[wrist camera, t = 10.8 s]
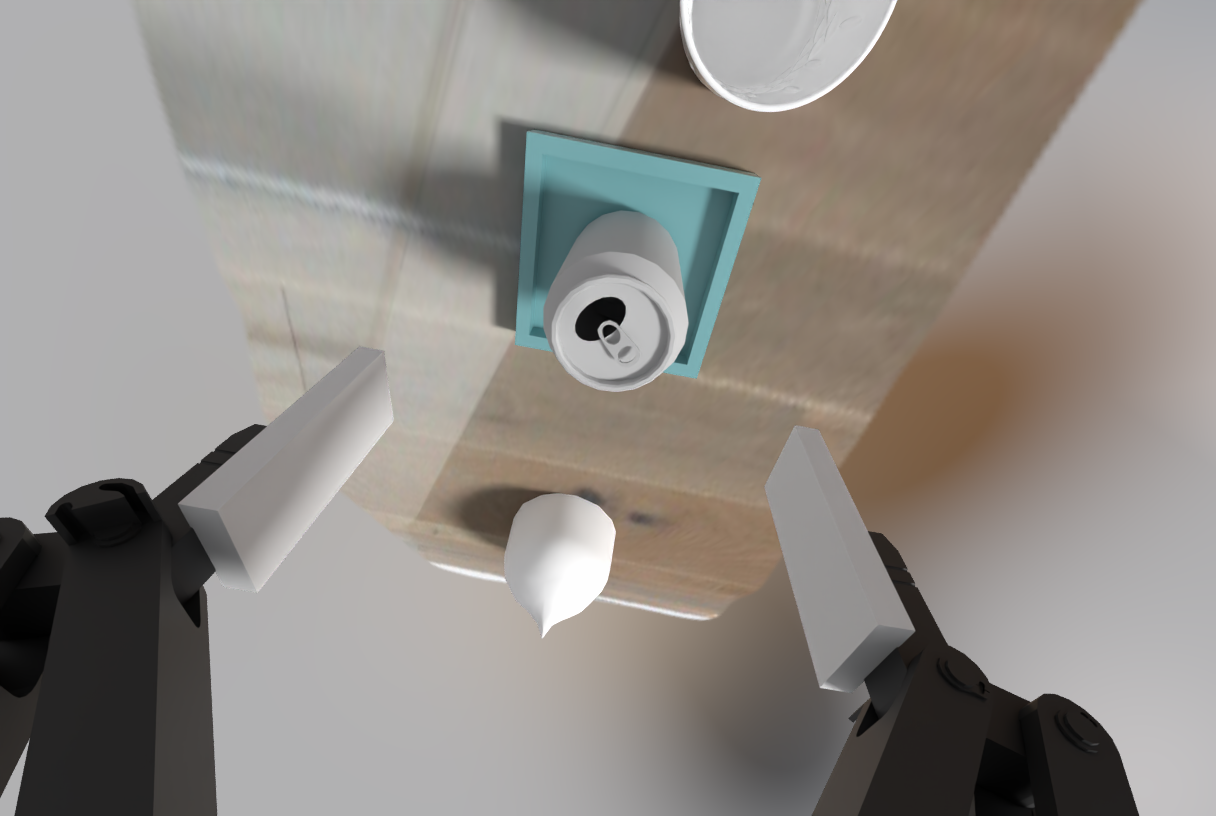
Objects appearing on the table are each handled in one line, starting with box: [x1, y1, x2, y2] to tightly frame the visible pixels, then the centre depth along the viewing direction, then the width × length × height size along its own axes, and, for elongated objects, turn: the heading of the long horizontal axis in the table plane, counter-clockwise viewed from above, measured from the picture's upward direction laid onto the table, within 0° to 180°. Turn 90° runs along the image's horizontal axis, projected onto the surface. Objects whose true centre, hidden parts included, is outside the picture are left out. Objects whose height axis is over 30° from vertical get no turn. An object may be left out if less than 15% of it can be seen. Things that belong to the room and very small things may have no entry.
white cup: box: [679, 0, 897, 112], centre depth 21 cm, size 8×8×10 cm
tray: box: [515, 129, 761, 379], centre depth 32 cm, size 14×14×2 cm
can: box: [543, 210, 689, 392], centre depth 27 cm, size 8×8×12 cm
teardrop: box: [504, 493, 616, 638], centre depth 44 cm, size 11×11×12 cm
